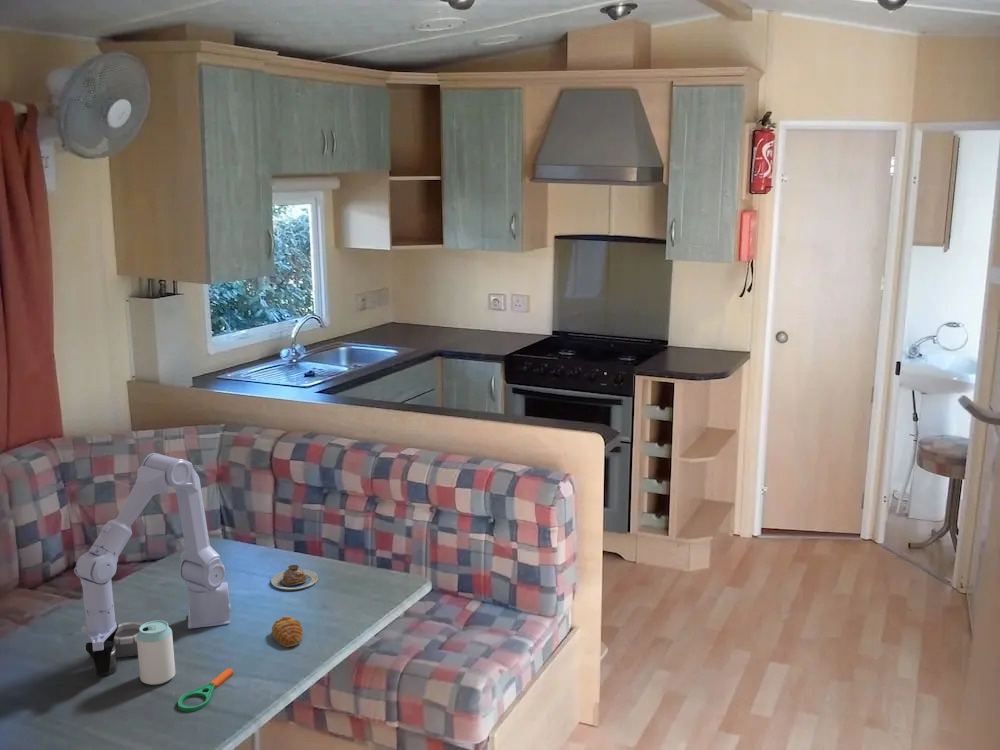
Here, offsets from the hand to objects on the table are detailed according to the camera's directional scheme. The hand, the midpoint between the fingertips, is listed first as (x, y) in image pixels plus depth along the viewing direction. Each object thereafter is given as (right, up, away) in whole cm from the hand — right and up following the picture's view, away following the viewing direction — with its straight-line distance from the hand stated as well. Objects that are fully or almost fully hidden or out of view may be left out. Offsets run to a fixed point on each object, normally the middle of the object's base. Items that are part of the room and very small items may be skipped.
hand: (105, 665), depth 208 cm
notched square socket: (+1, +1, +10) cm, 10 cm away
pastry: (+36, +2, +15) cm, 39 cm away
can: (+12, -2, -2) cm, 13 cm away
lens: (0, -1, 0) cm, 1 cm away
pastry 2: (+31, +8, +44) cm, 55 cm away
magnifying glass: (+24, -4, -7) cm, 26 cm away
